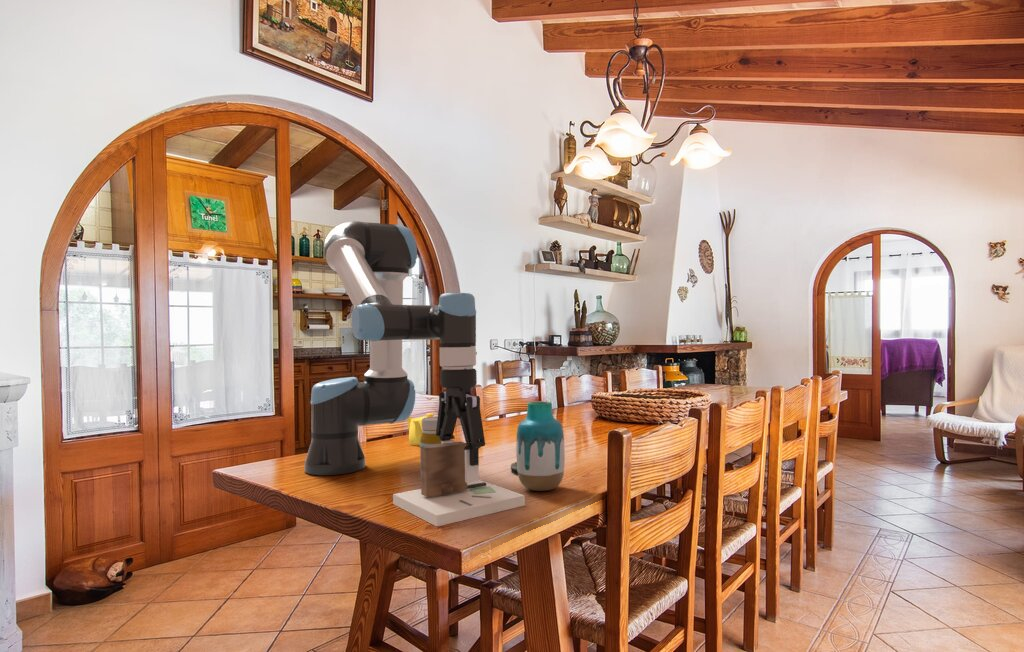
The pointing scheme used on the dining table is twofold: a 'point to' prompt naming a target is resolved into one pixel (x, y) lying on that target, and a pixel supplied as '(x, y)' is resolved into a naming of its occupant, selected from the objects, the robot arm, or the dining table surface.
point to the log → (514, 468)
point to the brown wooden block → (444, 469)
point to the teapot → (416, 429)
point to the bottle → (429, 432)
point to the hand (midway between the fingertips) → (459, 476)
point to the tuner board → (458, 503)
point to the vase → (540, 448)
